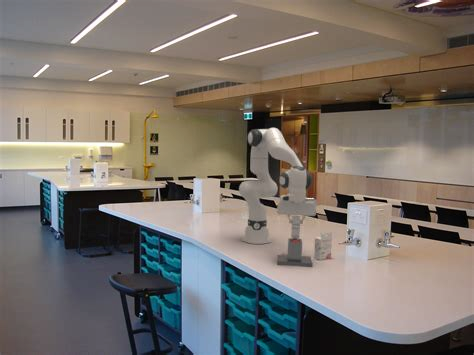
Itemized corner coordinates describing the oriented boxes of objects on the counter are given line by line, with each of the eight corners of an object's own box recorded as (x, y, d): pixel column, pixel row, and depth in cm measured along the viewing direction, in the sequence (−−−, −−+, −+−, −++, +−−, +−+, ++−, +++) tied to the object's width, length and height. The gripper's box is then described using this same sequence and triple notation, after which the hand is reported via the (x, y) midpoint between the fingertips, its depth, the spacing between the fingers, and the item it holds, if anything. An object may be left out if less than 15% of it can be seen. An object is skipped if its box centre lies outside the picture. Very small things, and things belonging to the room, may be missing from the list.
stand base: (277, 258, 233) (278, 234, 232) (310, 260, 231) (311, 236, 230) (277, 264, 220) (278, 240, 219) (312, 266, 218) (313, 242, 217)
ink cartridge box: (324, 256, 240) (326, 230, 239) (331, 258, 236) (332, 232, 235) (313, 258, 236) (314, 231, 235) (319, 260, 232) (321, 233, 230)
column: (290, 248, 227) (291, 215, 226) (298, 249, 227) (300, 215, 225) (290, 250, 223) (292, 216, 222) (299, 251, 223) (300, 217, 221)
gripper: (316, 197, 225) (315, 223, 226) (277, 195, 227) (276, 221, 228) (317, 199, 219) (316, 225, 220) (277, 197, 221) (276, 223, 222)
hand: (295, 223), depth 224 cm, fingers closed on column, 4 cm apart
